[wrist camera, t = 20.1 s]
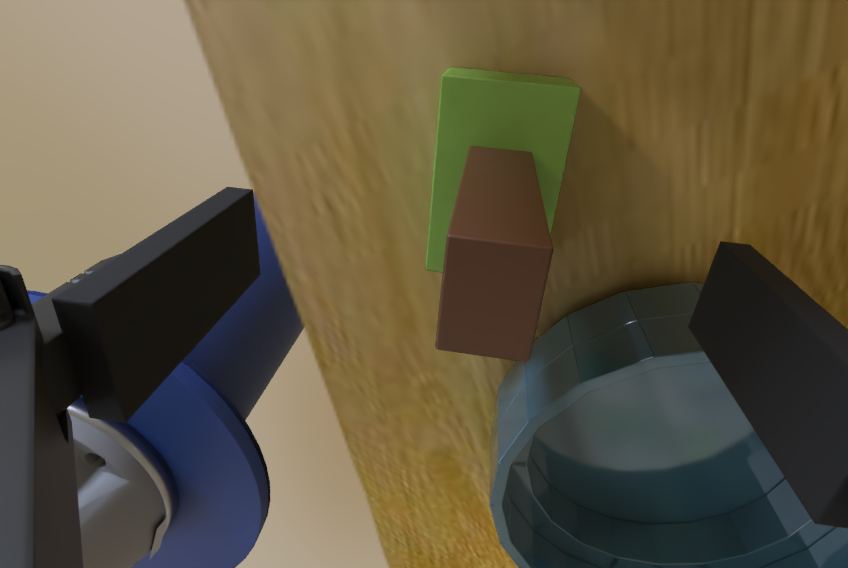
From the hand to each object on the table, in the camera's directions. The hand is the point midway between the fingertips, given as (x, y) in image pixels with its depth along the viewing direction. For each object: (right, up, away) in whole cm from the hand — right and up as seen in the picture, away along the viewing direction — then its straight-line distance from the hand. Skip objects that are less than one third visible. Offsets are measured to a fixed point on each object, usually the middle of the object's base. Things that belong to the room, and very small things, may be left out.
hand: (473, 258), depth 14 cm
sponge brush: (+2, +4, +8) cm, 9 cm away
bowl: (+12, -8, +13) cm, 20 cm away
